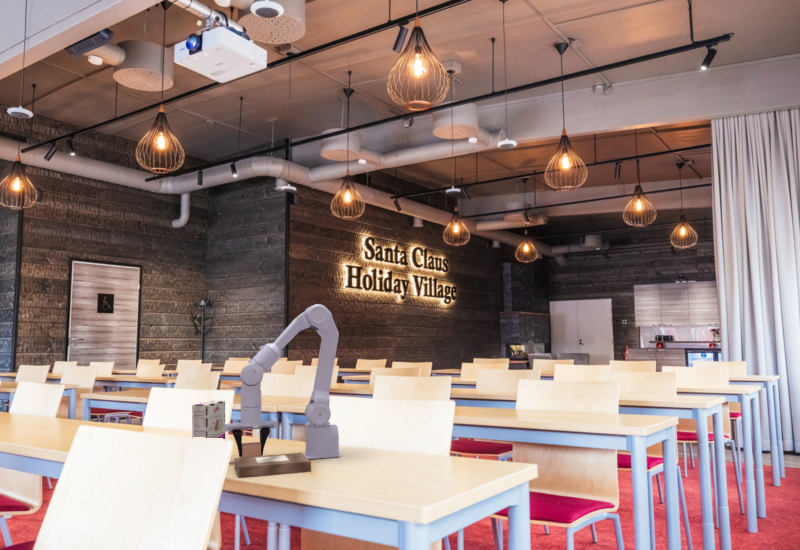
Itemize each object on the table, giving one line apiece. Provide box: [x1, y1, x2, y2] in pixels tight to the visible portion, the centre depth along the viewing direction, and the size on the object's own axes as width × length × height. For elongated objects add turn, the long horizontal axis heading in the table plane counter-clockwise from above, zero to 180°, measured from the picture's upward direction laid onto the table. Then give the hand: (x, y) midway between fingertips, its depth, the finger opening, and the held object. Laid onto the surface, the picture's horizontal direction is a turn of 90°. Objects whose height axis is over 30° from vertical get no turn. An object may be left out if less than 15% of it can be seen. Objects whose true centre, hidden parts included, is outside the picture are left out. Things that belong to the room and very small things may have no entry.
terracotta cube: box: [240, 441, 261, 458], centre depth 175 cm, size 5×5×5 cm
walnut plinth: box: [234, 452, 312, 479], centre depth 164 cm, size 18×14×3 cm
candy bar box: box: [191, 400, 226, 440], centre depth 181 cm, size 11×5×16 cm, turn 168°
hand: (250, 455), depth 175 cm, fingers closed on terracotta cube, 5 cm apart
